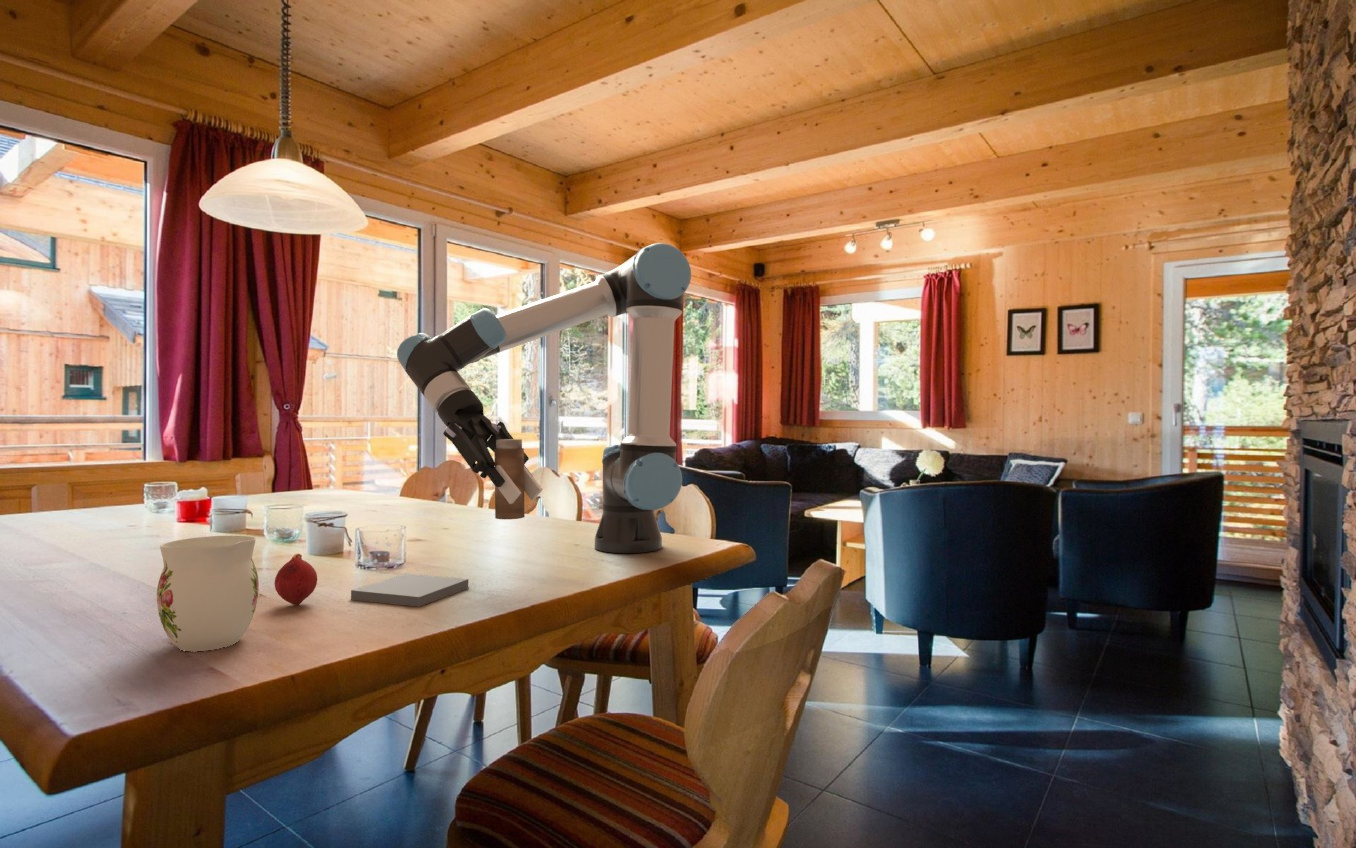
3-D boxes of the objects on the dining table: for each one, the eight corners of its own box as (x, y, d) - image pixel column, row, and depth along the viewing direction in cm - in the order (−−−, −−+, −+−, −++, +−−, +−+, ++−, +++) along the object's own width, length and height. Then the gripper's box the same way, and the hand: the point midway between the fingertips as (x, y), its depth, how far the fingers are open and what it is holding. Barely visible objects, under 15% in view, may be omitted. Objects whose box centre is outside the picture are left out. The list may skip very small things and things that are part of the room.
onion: (304, 610, 109) (304, 557, 109) (266, 610, 109) (266, 557, 109) (324, 600, 115) (324, 550, 115) (288, 600, 115) (288, 550, 115)
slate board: (405, 582, 128) (405, 573, 128) (468, 587, 124) (468, 579, 124) (351, 599, 116) (351, 590, 116) (419, 606, 112) (419, 597, 112)
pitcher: (236, 619, 104) (236, 524, 104) (275, 648, 91) (275, 540, 91) (142, 635, 96) (142, 533, 96) (171, 670, 84) (171, 551, 84)
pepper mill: (505, 514, 130) (504, 439, 129) (529, 515, 128) (529, 439, 128) (489, 518, 125) (488, 440, 125) (515, 520, 123) (514, 440, 123)
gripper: (479, 416, 141) (547, 505, 134) (405, 417, 125) (477, 518, 118) (499, 388, 139) (570, 477, 131) (426, 386, 123) (502, 487, 115)
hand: (526, 496), depth 125 cm, fingers closed on pepper mill, 5 cm apart
